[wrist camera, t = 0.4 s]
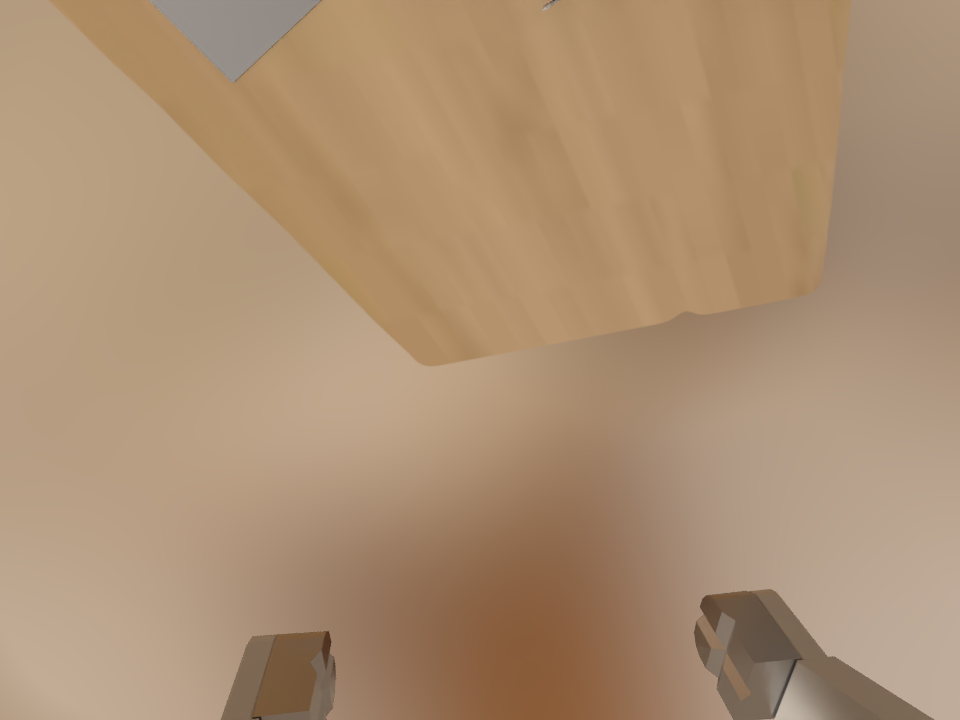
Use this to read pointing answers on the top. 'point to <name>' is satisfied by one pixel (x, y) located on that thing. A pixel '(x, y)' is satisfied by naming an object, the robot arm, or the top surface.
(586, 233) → the top surface
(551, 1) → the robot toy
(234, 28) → the board
